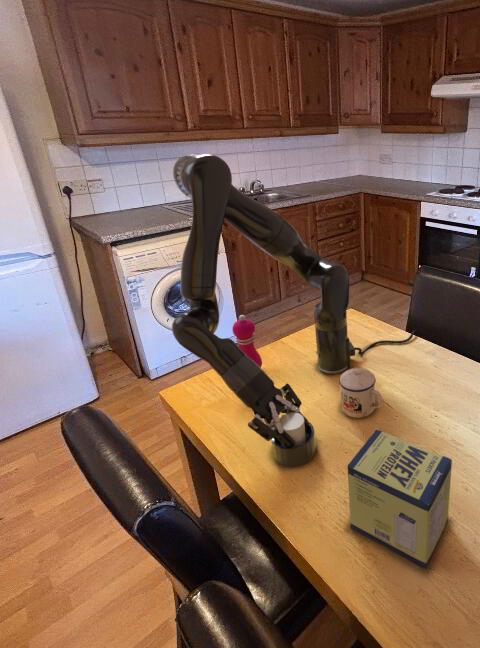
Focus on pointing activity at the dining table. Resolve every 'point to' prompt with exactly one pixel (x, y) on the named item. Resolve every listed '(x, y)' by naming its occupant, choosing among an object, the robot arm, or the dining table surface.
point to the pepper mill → (246, 338)
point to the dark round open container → (295, 450)
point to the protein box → (399, 496)
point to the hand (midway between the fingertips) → (299, 436)
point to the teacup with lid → (359, 392)
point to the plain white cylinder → (294, 427)
